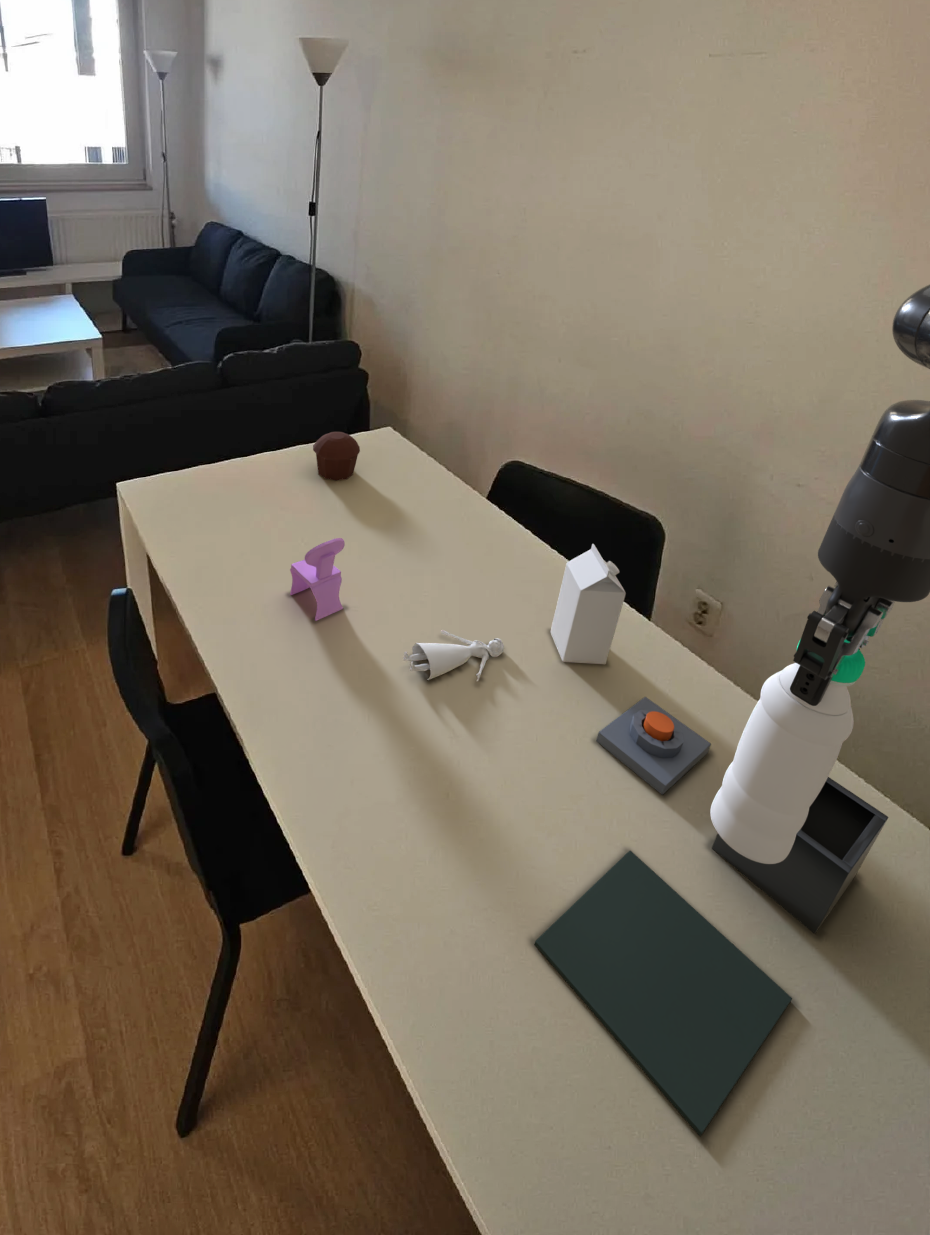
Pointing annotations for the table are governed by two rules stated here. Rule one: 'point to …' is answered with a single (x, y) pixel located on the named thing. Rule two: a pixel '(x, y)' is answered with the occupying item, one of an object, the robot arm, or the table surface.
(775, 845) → the water bottle
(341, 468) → the muffin
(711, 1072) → the mat
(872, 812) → the dark grey storage bin
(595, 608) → the milk carton
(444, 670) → the woman figurine
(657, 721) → the button
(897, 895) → the table surface
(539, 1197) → the table surface
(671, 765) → the control block
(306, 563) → the toy chair
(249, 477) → the table surface
